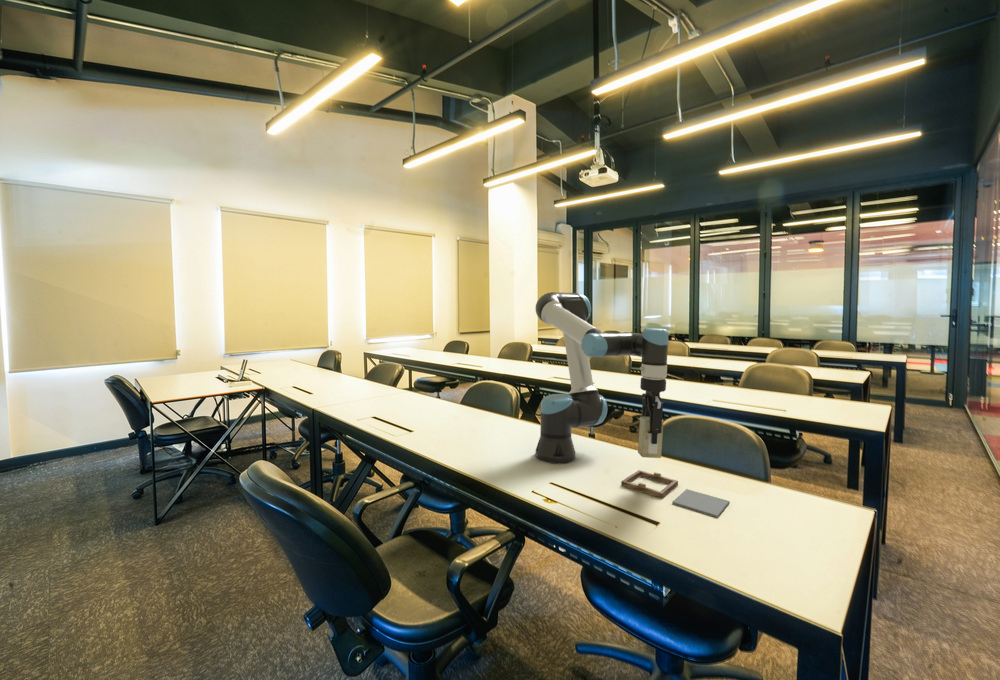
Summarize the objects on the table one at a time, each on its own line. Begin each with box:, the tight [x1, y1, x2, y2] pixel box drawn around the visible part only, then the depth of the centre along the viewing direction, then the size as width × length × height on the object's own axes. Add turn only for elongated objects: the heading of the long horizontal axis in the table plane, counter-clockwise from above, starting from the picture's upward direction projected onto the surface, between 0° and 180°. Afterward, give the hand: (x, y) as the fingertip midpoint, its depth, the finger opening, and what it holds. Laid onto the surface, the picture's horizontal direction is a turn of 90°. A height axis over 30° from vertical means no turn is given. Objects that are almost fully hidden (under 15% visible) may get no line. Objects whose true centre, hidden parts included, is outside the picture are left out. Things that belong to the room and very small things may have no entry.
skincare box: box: [637, 415, 665, 459], centre depth 132 cm, size 6×4×12 cm
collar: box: [620, 469, 679, 499], centre depth 133 cm, size 13×13×2 cm
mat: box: [671, 488, 730, 518], centre depth 121 cm, size 12×12×1 cm
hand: (649, 450), depth 133 cm, fingers closed on skincare box, 4 cm apart
